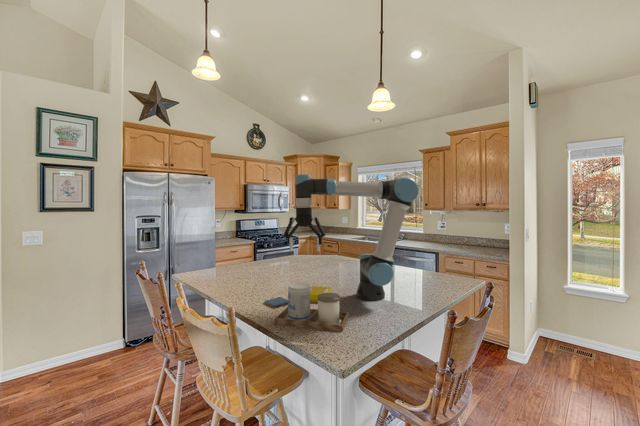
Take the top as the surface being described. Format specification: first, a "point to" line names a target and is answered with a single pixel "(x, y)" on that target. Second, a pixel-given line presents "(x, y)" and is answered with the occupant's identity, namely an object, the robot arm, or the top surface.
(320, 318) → the canister
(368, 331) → the top surface
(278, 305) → the woven mat
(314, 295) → the element tile
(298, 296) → the supplement tub
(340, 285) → the top surface
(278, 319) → the crate
